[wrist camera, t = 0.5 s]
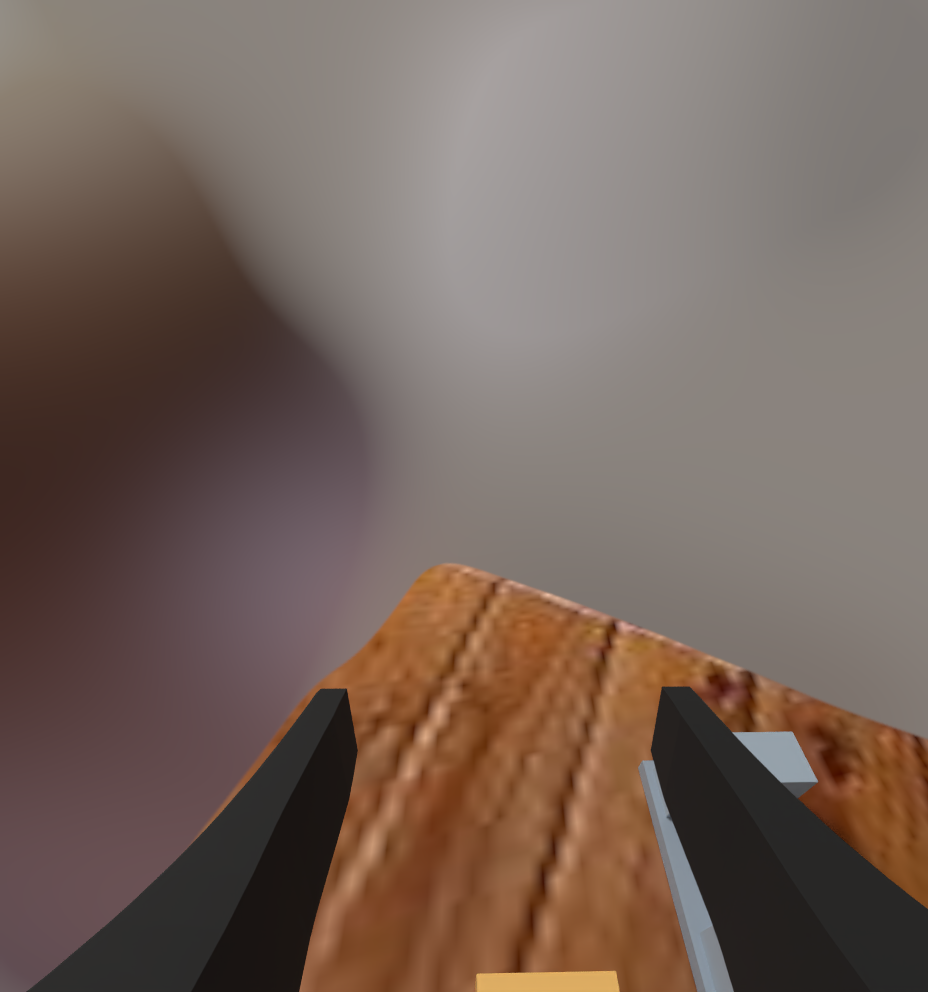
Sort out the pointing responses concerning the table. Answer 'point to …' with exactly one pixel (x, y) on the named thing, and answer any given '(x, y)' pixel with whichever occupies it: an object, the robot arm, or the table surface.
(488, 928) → the table surface
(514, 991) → the block
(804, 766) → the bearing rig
